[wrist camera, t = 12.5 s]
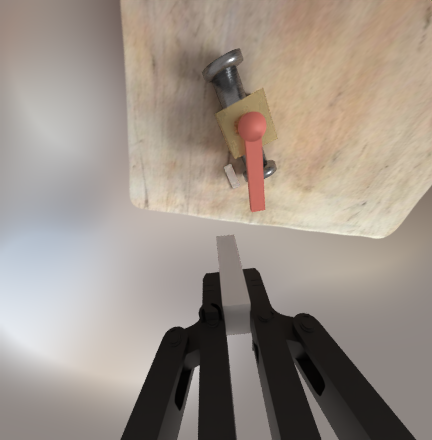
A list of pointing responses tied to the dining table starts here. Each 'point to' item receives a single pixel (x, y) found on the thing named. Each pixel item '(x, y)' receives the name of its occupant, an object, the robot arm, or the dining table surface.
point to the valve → (238, 110)
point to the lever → (254, 156)
